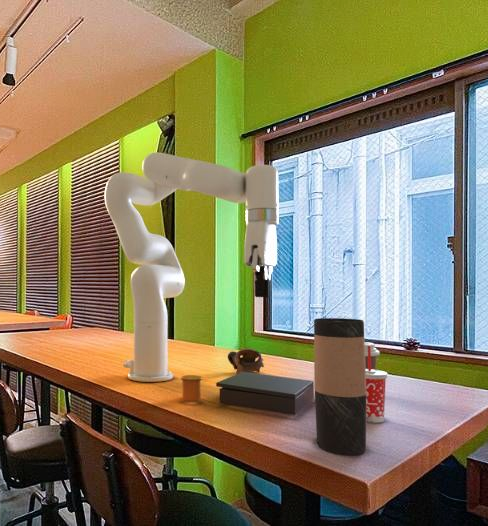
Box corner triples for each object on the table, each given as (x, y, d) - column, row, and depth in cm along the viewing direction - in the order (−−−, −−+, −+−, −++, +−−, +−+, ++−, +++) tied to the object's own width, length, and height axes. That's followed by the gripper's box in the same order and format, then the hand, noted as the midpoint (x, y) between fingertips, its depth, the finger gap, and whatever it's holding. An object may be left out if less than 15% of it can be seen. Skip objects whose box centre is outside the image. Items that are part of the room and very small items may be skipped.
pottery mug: (269, 374, 130) (270, 352, 126) (253, 393, 124) (253, 371, 120) (235, 360, 137) (234, 338, 133) (218, 377, 131) (216, 355, 127)
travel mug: (377, 449, 68) (374, 320, 70) (349, 460, 64) (346, 322, 65) (333, 435, 75) (331, 317, 76) (305, 444, 70) (303, 319, 71)
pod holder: (219, 407, 92) (219, 388, 92) (245, 393, 105) (245, 376, 105) (295, 419, 84) (295, 399, 84) (314, 402, 96) (313, 384, 96)
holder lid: (216, 386, 93) (216, 382, 93) (242, 374, 105) (242, 371, 105) (295, 398, 84) (295, 394, 84) (313, 384, 96) (313, 380, 96)
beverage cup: (346, 417, 86) (345, 344, 86) (366, 412, 88) (365, 342, 89) (375, 425, 80) (373, 348, 81) (395, 420, 83) (393, 346, 84)
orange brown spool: (177, 403, 95) (177, 377, 96) (187, 399, 99) (187, 374, 99) (195, 406, 93) (195, 380, 93) (205, 401, 97) (205, 376, 97)
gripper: (257, 224, 111) (258, 296, 110) (234, 215, 99) (234, 297, 98) (287, 221, 107) (288, 296, 106) (266, 212, 95) (267, 297, 94)
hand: (262, 296), depth 102 cm, fingers closed
